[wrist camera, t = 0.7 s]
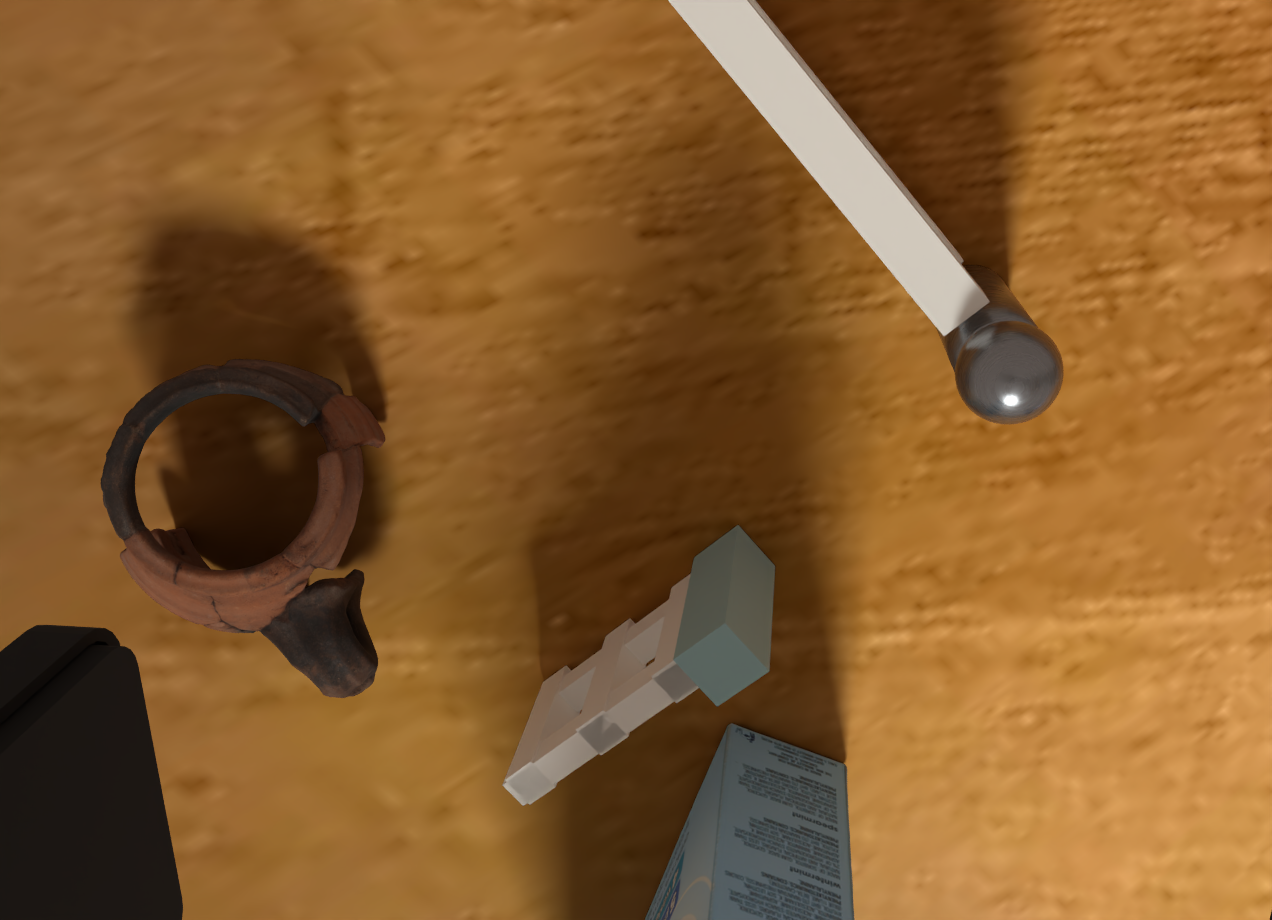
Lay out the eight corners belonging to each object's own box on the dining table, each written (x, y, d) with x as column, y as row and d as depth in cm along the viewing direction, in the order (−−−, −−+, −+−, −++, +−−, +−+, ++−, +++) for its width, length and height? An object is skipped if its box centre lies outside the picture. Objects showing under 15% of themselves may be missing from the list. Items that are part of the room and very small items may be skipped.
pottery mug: (110, 487, 44) (7, 458, 36) (318, 338, 45) (265, 277, 37) (301, 745, 43) (240, 776, 35) (507, 586, 44) (496, 580, 36)
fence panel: (701, 565, 41) (685, 652, 35) (723, 589, 41) (711, 679, 36) (539, 685, 44) (500, 783, 38) (560, 707, 44) (525, 808, 38)
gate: (957, 250, 36) (990, 301, 29) (920, 279, 36) (943, 336, 30) (724, -39, 34) (705, -51, 27) (688, -4, 34) (661, -8, 28)
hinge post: (978, 244, 36) (1030, 313, 28) (1029, 308, 36) (1095, 395, 28) (909, 298, 37) (939, 381, 28) (959, 359, 37) (1004, 458, 29)
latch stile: (738, 524, 40) (725, 623, 34) (775, 566, 41) (769, 671, 34) (694, 557, 41) (673, 659, 34) (731, 597, 41) (717, 707, 35)
